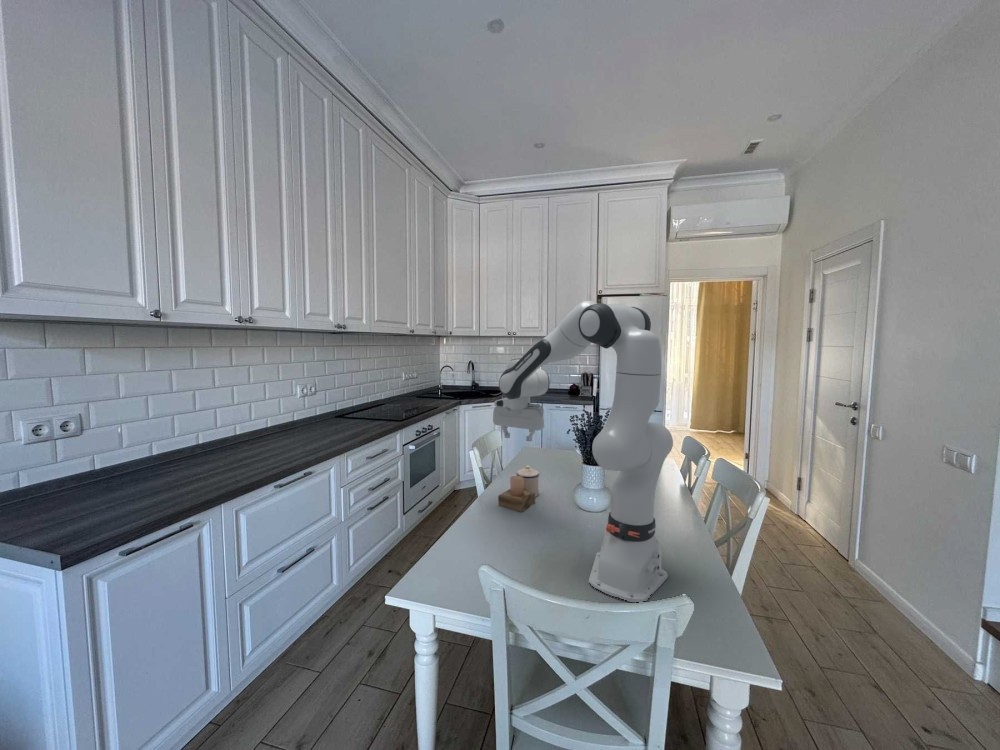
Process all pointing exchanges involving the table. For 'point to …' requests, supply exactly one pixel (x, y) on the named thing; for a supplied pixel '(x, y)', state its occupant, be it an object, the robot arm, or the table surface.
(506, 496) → the base
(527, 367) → the robot arm
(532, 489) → the teacup with lid
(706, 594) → the table surface
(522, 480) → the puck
